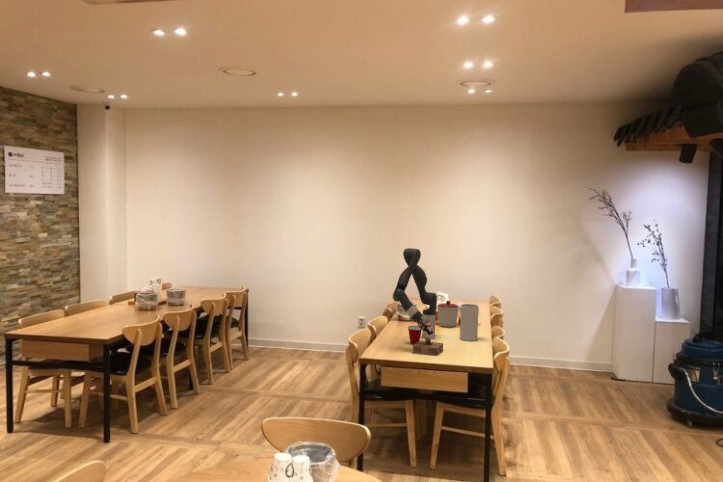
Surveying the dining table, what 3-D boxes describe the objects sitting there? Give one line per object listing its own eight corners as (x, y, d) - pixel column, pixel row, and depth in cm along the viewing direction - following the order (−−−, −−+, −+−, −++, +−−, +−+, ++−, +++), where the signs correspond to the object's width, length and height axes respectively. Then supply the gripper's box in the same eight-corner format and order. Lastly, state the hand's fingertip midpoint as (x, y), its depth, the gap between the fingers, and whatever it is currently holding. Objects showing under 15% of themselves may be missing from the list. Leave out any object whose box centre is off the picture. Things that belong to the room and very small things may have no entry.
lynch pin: (425, 342, 381) (426, 322, 380) (432, 343, 379) (432, 323, 378) (423, 343, 377) (424, 323, 376) (430, 344, 375) (431, 324, 374)
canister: (434, 327, 459) (435, 301, 458) (438, 323, 476) (439, 298, 475) (457, 329, 454) (458, 302, 453) (460, 325, 471) (460, 299, 470)
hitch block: (420, 347, 389) (420, 340, 388) (443, 350, 382) (443, 343, 382) (412, 352, 374) (413, 345, 374) (436, 355, 368) (436, 348, 367)
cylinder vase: (477, 341, 411) (478, 307, 409) (459, 340, 413) (460, 306, 412) (477, 338, 423) (478, 304, 422) (460, 337, 425) (461, 303, 424)
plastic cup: (409, 345, 394) (409, 328, 394) (405, 342, 405) (405, 325, 404) (424, 345, 396) (424, 328, 396) (419, 341, 407) (420, 325, 406)
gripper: (415, 311, 373) (432, 332, 369) (421, 308, 386) (438, 328, 382) (407, 319, 376) (424, 339, 371) (413, 315, 389) (430, 335, 384)
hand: (431, 333), depth 377 cm, fingers closed on lynch pin, 3 cm apart
